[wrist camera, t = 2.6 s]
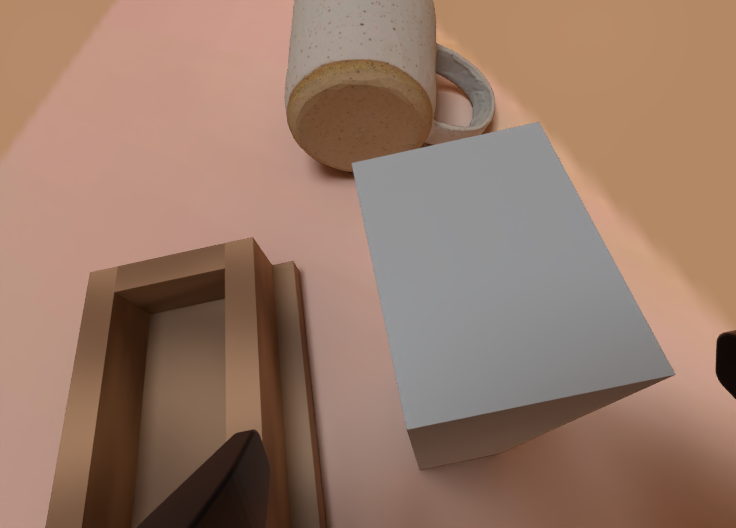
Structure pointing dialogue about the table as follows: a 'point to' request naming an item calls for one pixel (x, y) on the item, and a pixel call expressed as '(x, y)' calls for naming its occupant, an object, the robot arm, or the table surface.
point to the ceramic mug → (373, 80)
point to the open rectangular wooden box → (187, 386)
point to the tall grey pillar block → (497, 295)
